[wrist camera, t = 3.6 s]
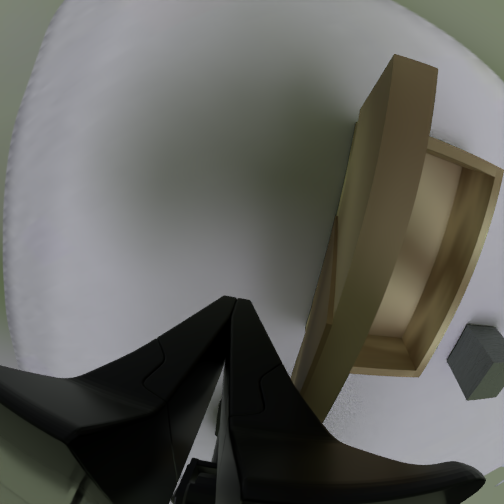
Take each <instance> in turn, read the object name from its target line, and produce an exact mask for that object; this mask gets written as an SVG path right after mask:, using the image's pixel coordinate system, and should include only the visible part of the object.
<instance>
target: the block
mask: <svg viewBox="0 0 504 504" xmlns="http://www.w3.org/2000/svg"><path fill="white" fill-rule="evenodd" d="M447 363H448V364H449V366H450V368H451V370H452V372H453V374H454V376H455V378H456V380H457V382H458V384H459V386H460V388H461V390H462V392H463V394H464V396H465V398H466V400H467V401H468V400H477V399H485V398H493V397H496V396H497V395H498V394H499V392H500V391H501V390H502V388H503V387H504V338H503V336H502V335H501V334H500V333H499V331H498V330H497V329H496V327H486V326H475V325H467V327H466V328H465V330H464V332H463V334H462V336H461V338H460V339H459V341H458V343H457V345H456V346H455V348H454V350H453V352H452V353H451V355H450V357H449V358H448V360H447Z"/></svg>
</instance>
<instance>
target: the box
mask: <svg viewBox="0 0 504 504" xmlns="http://www.w3.org/2000/svg"><path fill="white" fill-rule="evenodd" d="M357 124H358V122H356V124H355V129H354V135H353V140H352V145H351V150H350V155H349V160H348V165H347V170H346V175H345V180H344V184H343V189H342V193H341V198H340V202H339V206H338V210H337V215H336V216H338V215H339V211H340V206H341V202H342V198H343V193H344V189H345V184H346V180H347V175H348V171H349V166H350V161H351V156H352V151H353V146H354V141H355V135H356V130H357ZM503 173H504V170H503V169H501V168H499V167H497V166H495V165H493V164H491V163H489V162H487V161H485V160H483V159H481V158H479V157H477V156H475V155H473V154H470V153H468V152H466V151H464V150H462V149H459V148H457V147H455V146H452V145H450V144H447V143H445V142H443V141H440V140H438V139H435V138H432V137H430V136H429V140H428V146H427V151H426V156H425V160H424V165H423V170H422V174H421V178H420V183H419V187H418V191H417V195H416V199H415V202H414V206H413V210H412V213H411V217H410V220H409V224H408V227H407V231H406V234H405V237H404V240H403V243H402V247H401V250H400V253H399V256H398V259H397V262H396V264H395V267H394V270H393V273H392V276H391V278H390V281H389V284H388V287H387V289H386V292H385V294H384V297H383V300H382V302H381V305H380V307H379V309H378V312H377V314H376V317H375V319H374V321H373V324H372V326H371V328H370V331H369V333H368V335H367V338H366V340H365V342H364V344H363V346H362V348H361V351H360V353H359V355H358V357H357V359H356V361H355V363H354V365H353V367H352V369H351V371H350V373H351V374H364V375H378V376H396V377H419V376H420V375H421V373H422V372H423V370H424V369H425V367H426V365H427V364H428V362H429V360H430V359H431V357H432V355H433V354H434V352H435V350H436V348H437V347H438V345H439V343H440V341H441V339H442V338H443V336H444V334H445V332H446V330H447V328H448V326H449V324H450V322H451V320H452V318H453V316H454V314H455V312H456V310H457V308H458V306H459V304H460V302H461V300H462V297H463V295H464V293H465V291H466V288H467V286H468V284H469V281H470V279H471V277H472V274H473V272H474V269H475V267H476V264H477V261H478V259H479V256H480V253H481V251H482V248H483V245H484V242H485V239H486V236H487V233H488V230H489V227H490V224H491V220H492V217H493V213H494V210H495V206H496V202H497V199H498V195H499V191H500V186H501V182H502V177H503ZM311 308H312V307H311ZM310 313H311V311H310ZM309 318H310V314H309V317H308V320H307V324H306V327H305V332H306V329H307V326H308V322H309Z"/></svg>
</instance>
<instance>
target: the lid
mask: <svg viewBox="0 0 504 504" xmlns="http://www.w3.org/2000/svg"><path fill="white" fill-rule="evenodd" d="M437 75H438V68H435V67H432V66H430V65H427V64H424V63H421V62H418V61H415V60H412V59H409V58H406V57H403V56H400V55H396V54H394V55H393V57H392V59H391V60H390V62H389V63H388V65H387V67H386V68H385V70H384V72H383V73H382V75H381V76H380V78H379V80H378V81H377V83H376V85H375V86H374V88H373V89H372V91H371V93H370V94H369V96H368V98H367V99H366V101H365V102H364V104H363V106H362V107H361V109H360V113H359V118H358V124H357V130H356V135H355V141H354V146H353V151H352V156H351V161H350V166H349V171H348V175H347V180H346V184H345V189H344V193H343V198H342V202H341V206H340V211H339V215H338V216H336V215H335V219H334V224H333V228H332V232H331V236H330V240H329V243H328V247H327V251H326V255H325V259H324V262H323V266H322V270H321V273H320V277H319V281H318V284H317V288H316V291H315V295H314V298H313V303H312V308H311V313H310V318H309V322H308V326H307V329H306V332H305V335H304V338H303V342H302V345H301V348H300V351H299V354H298V357H297V359H296V362H295V365H294V368H293V372H292V376H291V380H292V382H293V384H294V385H295V387H296V388H297V390H298V391H299V393H300V394H301V396H302V397H303V398H304V400H305V401H306V403H307V404H308V405H309V407H310V408H311V409H312V411H313V412H314V413H315V415H316V416H317V417H318V419H319V420H320V421H321V422H322V423H323V421H324V420H325V418H326V416H327V414H328V413H329V411H330V409H331V407H332V405H333V404H334V402H335V400H336V398H337V396H338V394H339V393H340V391H341V389H342V387H343V385H344V383H345V381H346V379H347V377H348V375H349V373H350V371H351V369H352V367H353V365H354V363H355V361H356V359H357V357H358V355H359V353H360V351H361V348H362V346H363V344H364V342H365V340H366V338H367V335H368V333H369V331H370V328H371V326H372V324H373V321H374V319H375V317H376V314H377V312H378V309H379V307H380V305H381V302H382V300H383V297H384V294H385V292H386V289H387V287H388V284H389V281H390V278H391V276H392V273H393V270H394V267H395V264H396V262H397V259H398V256H399V253H400V250H401V247H402V243H403V240H404V237H405V234H406V231H407V227H408V224H409V220H410V217H411V213H412V210H413V206H414V202H415V199H416V195H417V191H418V187H419V183H420V178H421V174H422V170H423V165H424V160H425V156H426V151H427V146H428V140H429V135H430V129H431V123H432V116H433V109H434V102H435V94H436V85H437Z"/></svg>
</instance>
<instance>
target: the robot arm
mask: <svg viewBox="0 0 504 504" xmlns="http://www.w3.org/2000/svg"><path fill="white" fill-rule="evenodd" d="M224 363H225V365H224ZM223 366H224V376H223V389H222V400H221V401H220V403H219V408H218V416H217V423H216V431H215V435H216V436H217V440H216V445H215V449H214V453H213V458H212V462H208V461H203V460H199V459H197V458H192V459H191V462H190V464H188V465H187V468H186V470H185V472H184V475H183V477H182V479H181V482H180V484H179V486H178V488H177V489H176V491H175V492H174V490H175V488H176V485H177V482H178V480H179V478H180V475H181V473H182V470H183V468H184V465H185V463H186V460H187V458H188V455H189V453H190V450H191V448H192V445H193V443H194V440H195V438H196V435H197V433H198V430H199V428H200V425H201V423H202V420H203V418H204V415H205V413H206V410H207V408H208V405H209V402H210V400H211V397H212V395H213V392H214V390H215V387H216V385H217V382H218V379H219V377H220V374H221V372H222V369H223ZM485 481H486V479H485V477H484V476H483V474H482V473H481V472H479V471H478V470H477V469H475V468H474V467H472V466H469V465H466V464H464V463H460V462H456V461H450V462H444V463H438V464H432V465H415V464H408V463H403V462H399V461H395V460H392V459H388V458H385V457H382V456H378V455H375V454H372V453H369V452H366V451H363V450H360V449H357V448H354V447H351V446H348V445H346V444H343V443H342V442H340V441H338V440H337V439H336V438H335V437H334V436H332V435H331V434H330V433H329V431H328V430H327V429H326V428H325V426H324V425H323V424H322V422H321V421H320V420H319V419H318V417H317V416H316V415H315V413H314V412H313V411H312V409H311V408H310V407H309V405H308V404H307V403H306V401H305V400H304V398H303V397H302V396H301V394H300V393H299V391H298V390H297V388H296V387H295V385H294V384H293V382H292V380H291V378H290V377H289V375H288V373H287V371H286V369H285V367H284V365H283V364H282V362H281V360H280V358H279V356H278V354H277V352H276V350H275V348H274V346H273V344H272V342H271V340H270V338H269V336H268V334H267V332H266V330H265V328H264V326H263V324H262V322H261V320H260V318H259V316H258V314H257V312H256V310H255V308H254V306H253V304H252V302H251V301H250V300H247V299H242V298H238V299H236V298H235V297H231V296H222V297H221V298H219V299H218V300H216V301H214V302H213V303H211V304H210V305H208V306H207V307H205V308H204V309H202V310H200V311H199V312H197V313H196V314H194V315H192V316H191V317H189V318H188V319H186V320H185V321H183V322H181V323H180V324H178V325H177V326H175V327H173V328H172V329H170V330H169V331H167V332H165V333H164V334H162V335H161V336H159V337H158V338H157V339H154V340H152V341H151V342H149V343H148V344H146V345H144V346H142V347H141V348H139V349H137V350H135V351H134V352H132V353H129V354H127V355H125V356H123V357H121V358H119V359H117V360H115V361H113V362H110V363H108V364H106V365H104V366H102V367H99V368H97V369H95V370H93V371H90V372H88V373H86V374H83V375H81V376H77V377H73V378H56V377H51V376H45V375H40V374H35V373H30V372H26V371H21V370H17V369H13V368H8V367H5V366H1V365H0V504H169V502H170V500H171V502H172V503H173V504H460V503H461V502H463V501H465V500H466V499H467V498H469V497H470V496H472V495H473V494H474V493H476V492H477V491H478V490H479V489H480V488H481V487H482V486H483V485H484V484H485ZM173 492H174V494H173Z"/></svg>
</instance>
